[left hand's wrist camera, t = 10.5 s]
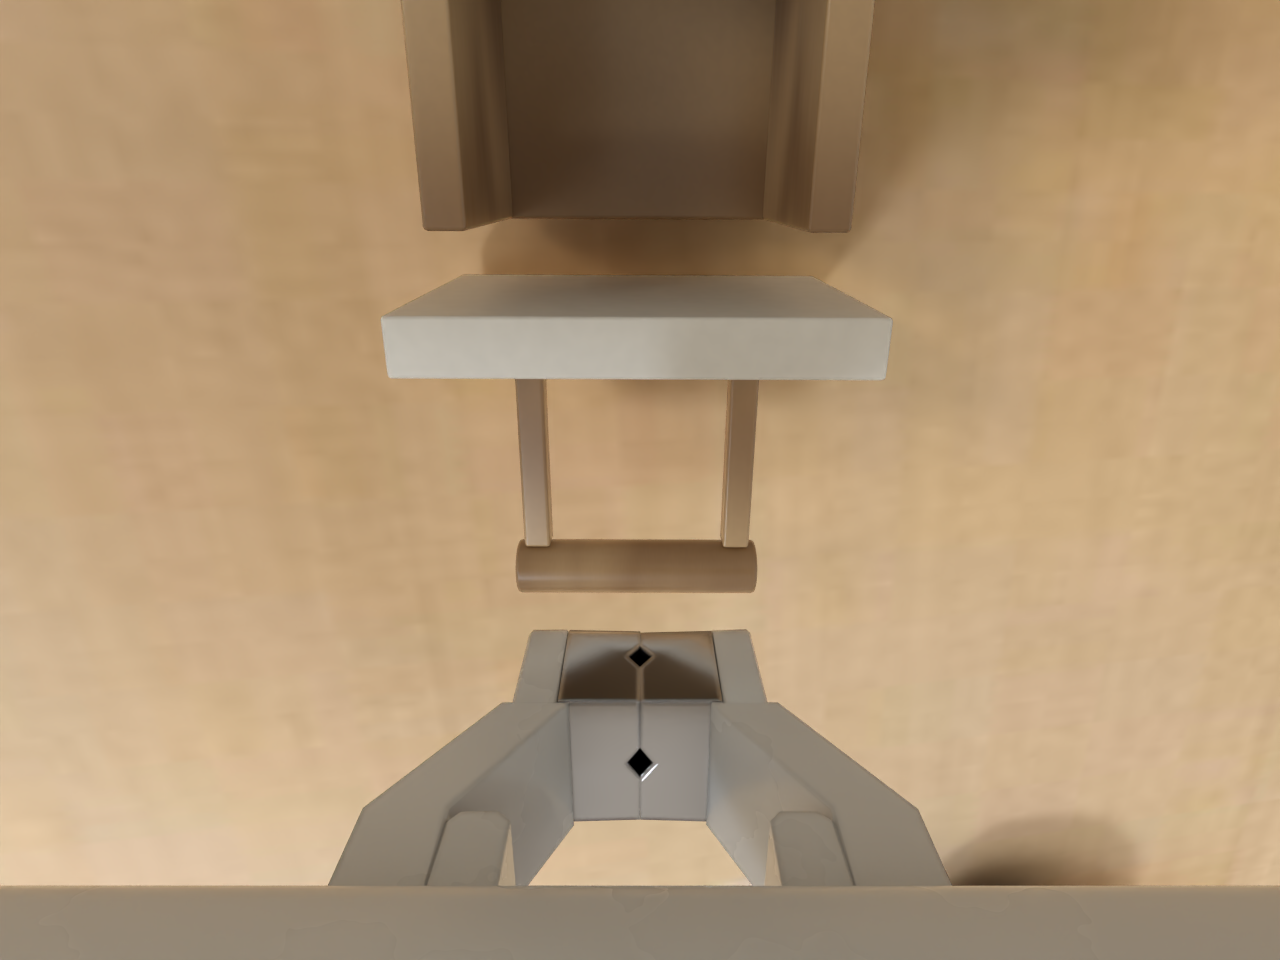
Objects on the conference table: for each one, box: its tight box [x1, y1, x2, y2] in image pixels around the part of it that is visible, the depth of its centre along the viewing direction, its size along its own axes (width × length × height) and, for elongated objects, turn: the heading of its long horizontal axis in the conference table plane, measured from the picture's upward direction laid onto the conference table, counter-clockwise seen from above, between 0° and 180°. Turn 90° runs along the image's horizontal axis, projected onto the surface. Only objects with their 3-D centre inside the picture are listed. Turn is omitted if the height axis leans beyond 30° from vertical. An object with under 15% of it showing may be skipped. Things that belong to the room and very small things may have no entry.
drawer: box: [381, 0, 893, 593], centre depth 15 cm, size 24×10×7 cm, turn 0°
